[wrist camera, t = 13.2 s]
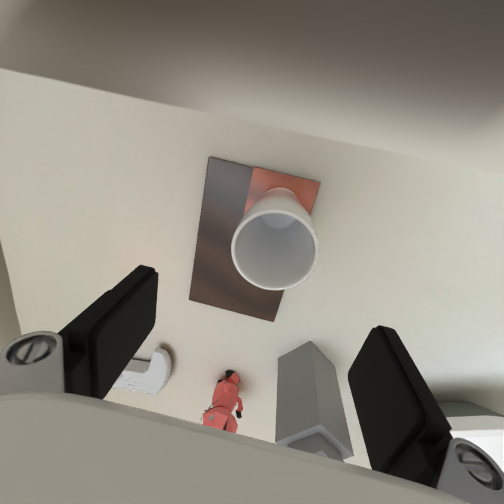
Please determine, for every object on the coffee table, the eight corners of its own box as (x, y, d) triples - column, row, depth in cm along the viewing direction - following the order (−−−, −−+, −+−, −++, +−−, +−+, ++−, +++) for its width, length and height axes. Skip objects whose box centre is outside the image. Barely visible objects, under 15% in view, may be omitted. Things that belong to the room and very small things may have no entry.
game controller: (166, 355, 42) (164, 406, 44) (176, 341, 47) (175, 388, 49) (86, 343, 44) (88, 393, 46) (103, 330, 48) (105, 376, 50)
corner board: (210, 154, 32) (208, 155, 31) (319, 181, 32) (320, 182, 31) (190, 297, 41) (188, 300, 40) (275, 319, 41) (274, 323, 40)
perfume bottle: (310, 340, 41) (326, 469, 25) (334, 366, 43) (364, 504, 26) (278, 358, 44) (273, 486, 27) (302, 382, 45) (311, 517, 29)
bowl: (364, 383, 44) (381, 435, 36) (521, 370, 39) (580, 427, 31) (376, 461, 51) (392, 518, 43) (508, 459, 46) (553, 522, 39)
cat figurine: (224, 361, 46) (204, 429, 35) (256, 379, 46) (246, 451, 35) (206, 382, 48) (183, 452, 37) (237, 399, 49) (222, 472, 38)
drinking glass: (314, 189, 31) (335, 224, 17) (295, 238, 34) (301, 302, 20) (261, 173, 31) (242, 196, 17) (247, 223, 34) (220, 277, 20)
